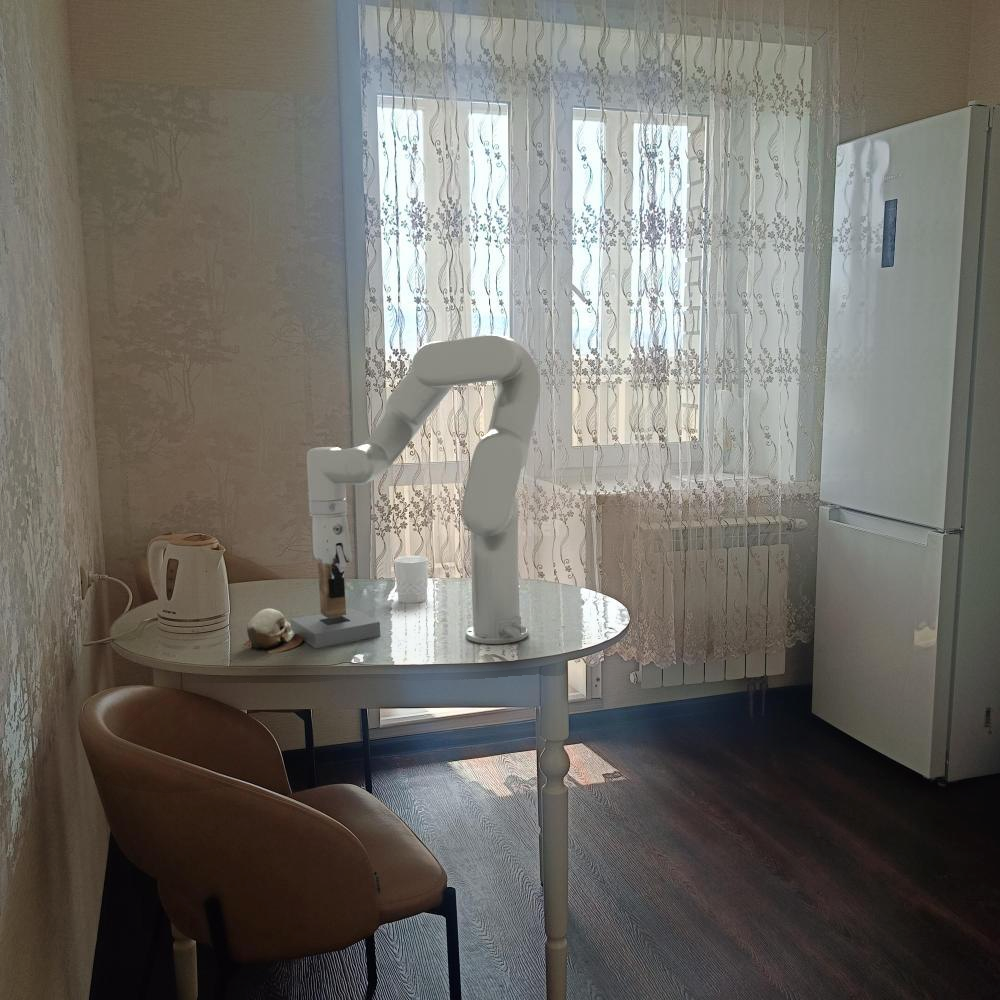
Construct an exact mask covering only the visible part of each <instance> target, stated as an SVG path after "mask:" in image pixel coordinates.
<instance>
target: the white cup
mask: <svg viewBox="0 0 1000 1000" xmlns="http://www.w3.org/2000/svg"><path fill="white" fill-rule="evenodd" d="M428 560H429V559H428V557H427V556H423V555H407V556H401V557H400V556H399V557H396V558H394V561H393V563H394V572H395V573H394V574H395V583H396V590H397V599H398V600H397V601H398V602H399V603H401V602H402V603H403V604H419V602H420V603H423V602H426V601H427V600H428V573H429V571H428V570H429V569H428V563H429V562H428ZM425 600H426V601H425ZM402 603H401V604H402Z"/></svg>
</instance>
